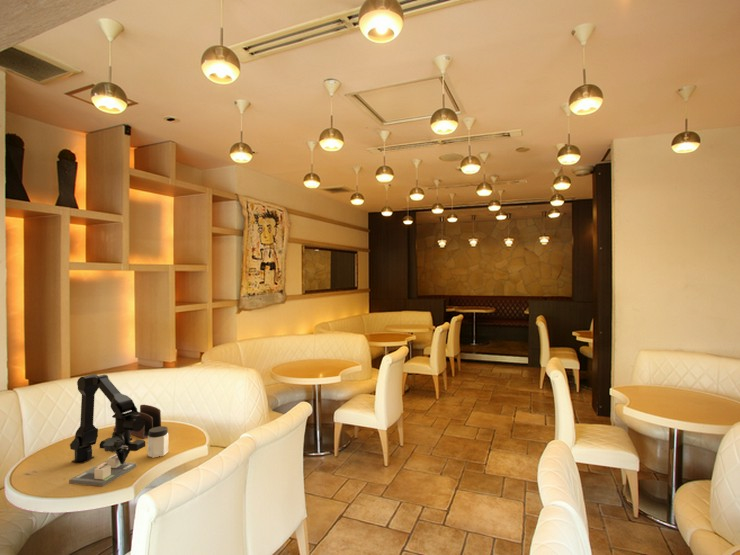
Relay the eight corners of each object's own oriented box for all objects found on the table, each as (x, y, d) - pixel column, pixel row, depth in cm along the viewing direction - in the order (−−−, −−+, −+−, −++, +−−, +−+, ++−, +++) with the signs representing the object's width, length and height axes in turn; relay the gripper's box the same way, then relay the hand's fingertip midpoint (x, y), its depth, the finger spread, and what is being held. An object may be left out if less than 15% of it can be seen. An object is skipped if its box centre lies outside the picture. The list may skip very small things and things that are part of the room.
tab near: (94, 478, 165) (94, 468, 165) (102, 474, 169) (102, 464, 169) (102, 479, 165) (102, 469, 165) (110, 475, 168) (110, 464, 169)
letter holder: (141, 427, 232) (141, 402, 232) (161, 433, 222) (161, 407, 222) (123, 432, 223) (123, 407, 224) (143, 439, 213) (143, 412, 213)
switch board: (69, 483, 165) (69, 479, 165) (105, 464, 183) (105, 460, 183) (102, 486, 162) (102, 482, 162) (136, 466, 180) (136, 463, 180)
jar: (144, 455, 192) (144, 430, 193) (160, 449, 199) (160, 425, 200) (155, 459, 188) (155, 433, 188) (171, 452, 195) (171, 428, 195)
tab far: (107, 467, 176) (107, 457, 176) (114, 463, 180) (114, 453, 180) (115, 468, 175) (115, 458, 175) (122, 464, 179) (122, 454, 179)
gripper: (88, 433, 171) (88, 470, 170) (127, 436, 167) (126, 473, 167) (110, 424, 182) (109, 459, 181) (146, 427, 178) (146, 462, 178)
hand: (122, 463), depth 177 cm, fingers closed
